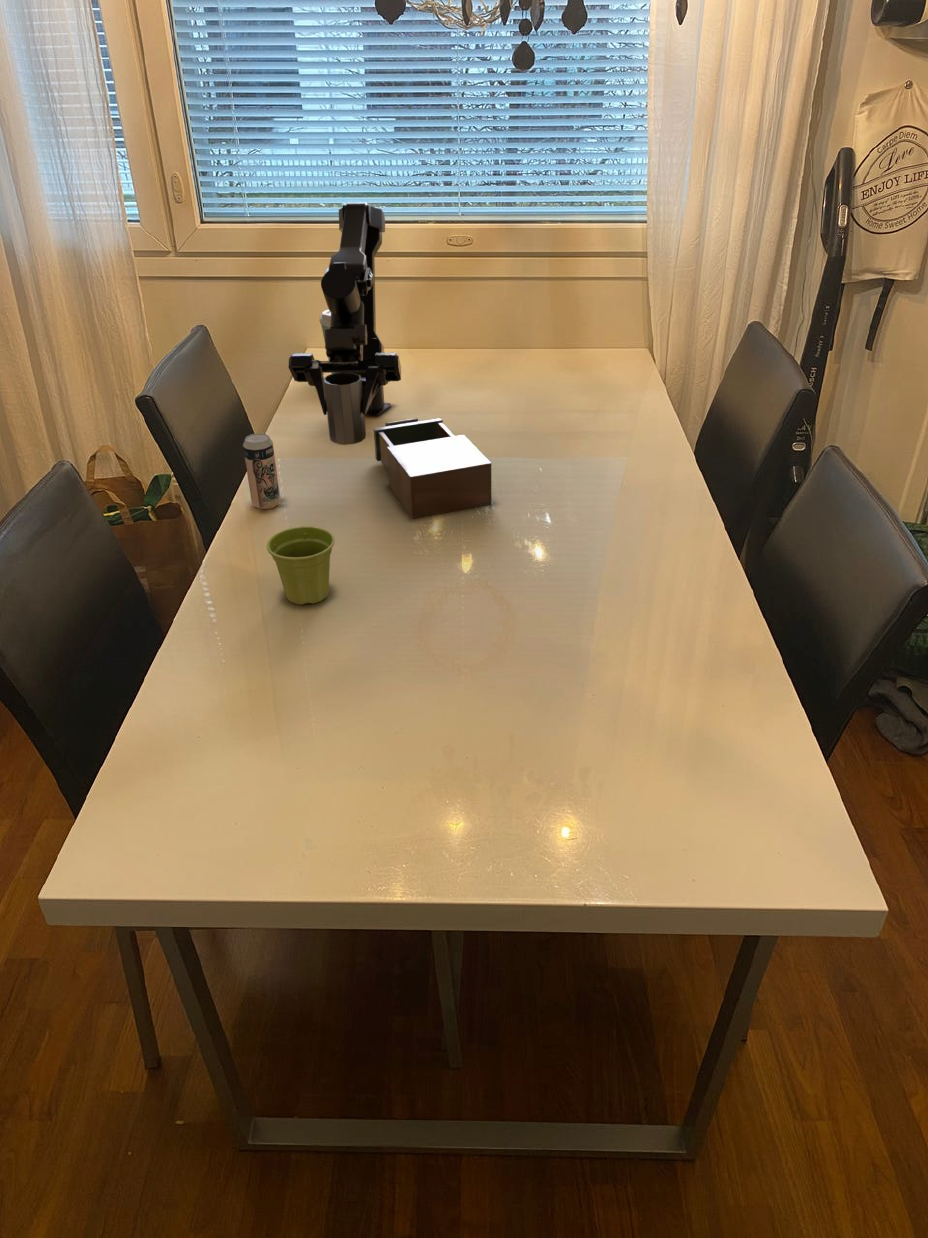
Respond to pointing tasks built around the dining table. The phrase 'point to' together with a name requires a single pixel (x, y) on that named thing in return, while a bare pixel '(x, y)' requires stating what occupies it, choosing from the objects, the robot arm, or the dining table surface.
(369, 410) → the robot arm
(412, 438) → the drawer
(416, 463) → the cabinet
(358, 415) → the tapered cup
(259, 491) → the beer can
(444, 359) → the dining table surface
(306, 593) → the plant pot
